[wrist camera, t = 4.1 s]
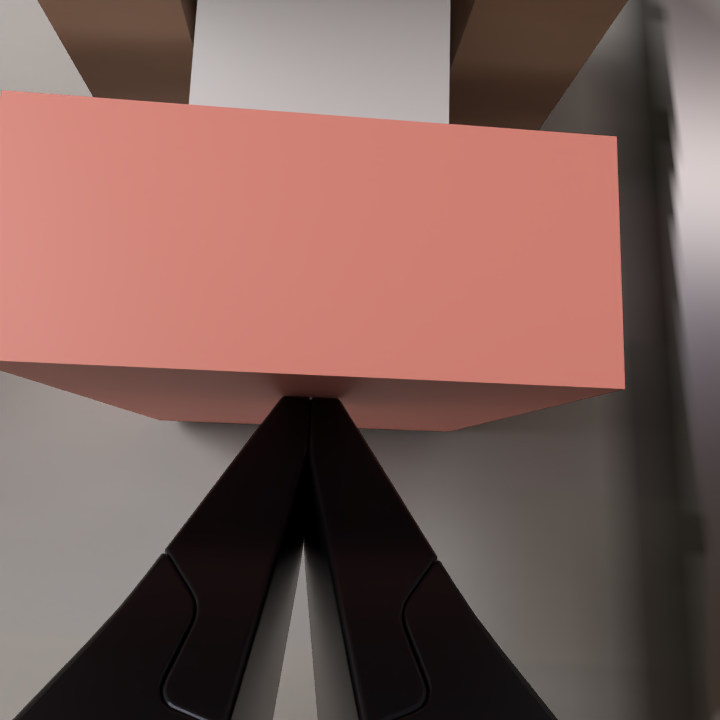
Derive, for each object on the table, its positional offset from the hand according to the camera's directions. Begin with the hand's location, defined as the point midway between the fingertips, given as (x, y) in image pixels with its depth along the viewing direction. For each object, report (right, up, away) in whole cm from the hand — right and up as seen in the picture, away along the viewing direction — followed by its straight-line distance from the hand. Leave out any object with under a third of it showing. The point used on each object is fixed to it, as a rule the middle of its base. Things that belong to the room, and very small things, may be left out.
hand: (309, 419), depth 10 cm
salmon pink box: (0, +4, +7) cm, 8 cm away
